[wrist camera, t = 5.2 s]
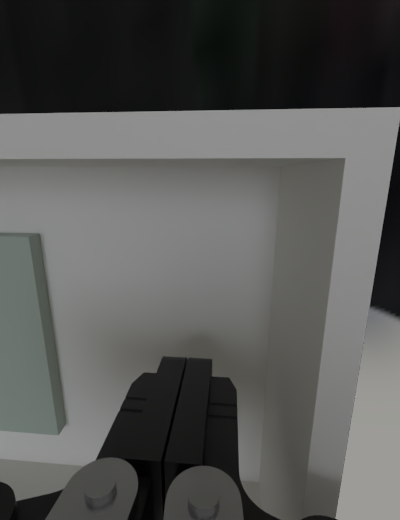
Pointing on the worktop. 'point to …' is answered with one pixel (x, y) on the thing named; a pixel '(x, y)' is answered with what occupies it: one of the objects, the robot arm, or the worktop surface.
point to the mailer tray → (190, 281)
